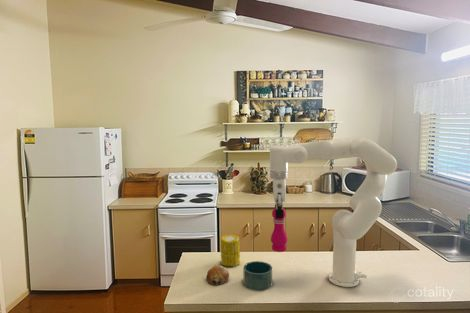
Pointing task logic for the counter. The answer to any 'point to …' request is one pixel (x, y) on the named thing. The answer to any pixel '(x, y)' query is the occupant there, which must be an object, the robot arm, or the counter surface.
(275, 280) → the counter surface
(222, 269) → the bread roll
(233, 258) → the food
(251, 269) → the pot
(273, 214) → the pepper mill
